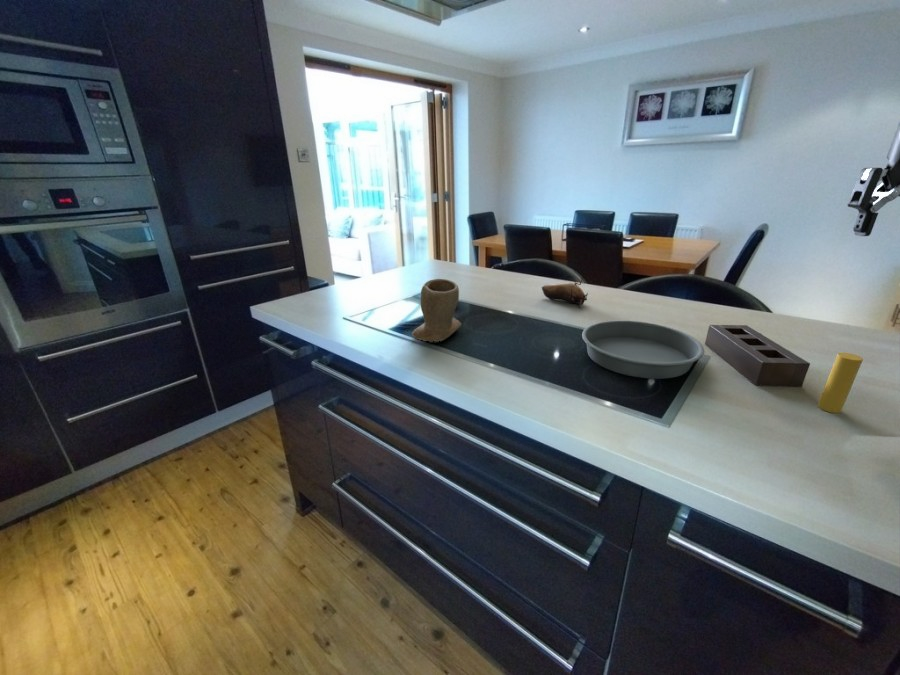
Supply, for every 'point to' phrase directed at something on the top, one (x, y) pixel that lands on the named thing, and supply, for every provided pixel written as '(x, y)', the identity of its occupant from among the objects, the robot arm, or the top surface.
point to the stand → (756, 356)
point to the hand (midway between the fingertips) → (890, 235)
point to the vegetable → (565, 292)
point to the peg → (840, 382)
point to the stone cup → (438, 310)
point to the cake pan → (641, 349)
